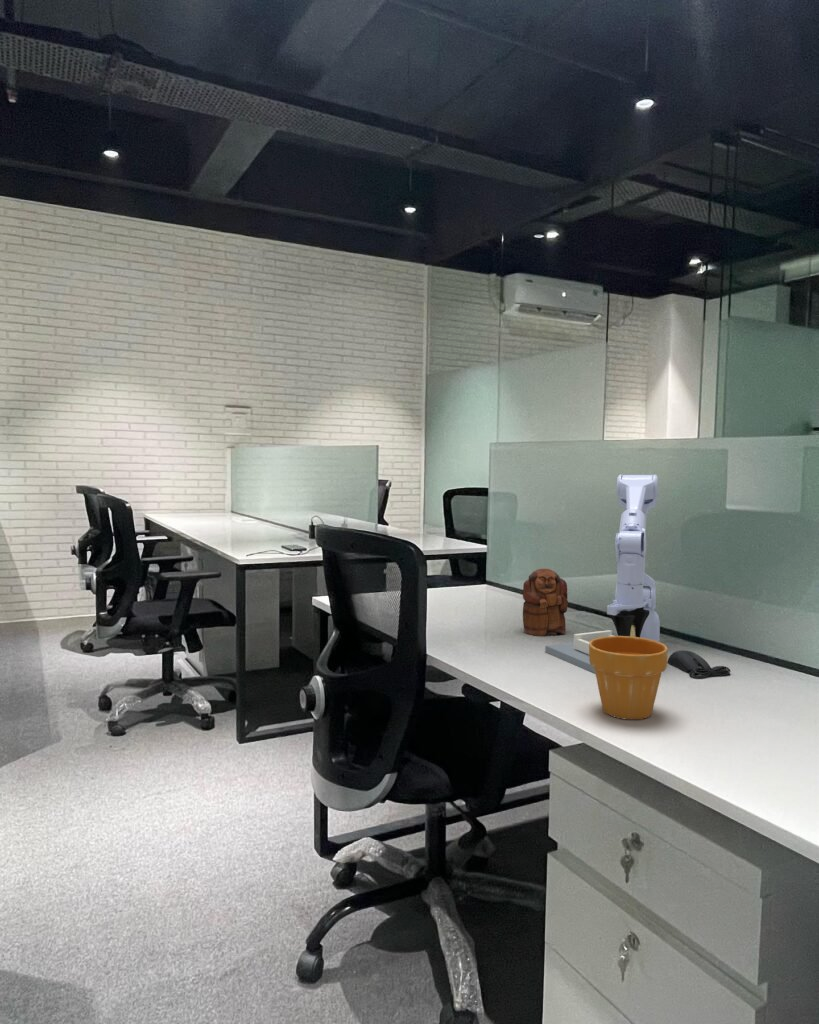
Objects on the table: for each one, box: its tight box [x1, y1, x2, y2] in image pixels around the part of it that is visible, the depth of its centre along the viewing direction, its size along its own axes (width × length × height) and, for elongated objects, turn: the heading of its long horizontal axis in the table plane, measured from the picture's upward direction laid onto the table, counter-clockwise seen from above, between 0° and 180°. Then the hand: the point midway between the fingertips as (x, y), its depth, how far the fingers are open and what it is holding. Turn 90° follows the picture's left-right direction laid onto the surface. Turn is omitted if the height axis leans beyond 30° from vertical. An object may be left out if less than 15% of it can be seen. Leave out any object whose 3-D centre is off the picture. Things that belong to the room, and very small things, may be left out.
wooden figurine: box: [522, 568, 569, 637], centre depth 197 cm, size 12×6×18 cm, turn 100°
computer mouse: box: [667, 649, 732, 680], centre depth 164 cm, size 10×15×4 cm
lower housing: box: [573, 629, 614, 654], centre depth 172 cm, size 11×10×4 cm
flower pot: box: [589, 635, 669, 720], centre depth 135 cm, size 14×14×13 cm
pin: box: [630, 623, 636, 637], centre depth 164 cm, size 3×3×6 cm
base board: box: [544, 641, 596, 675], centre depth 171 cm, size 16×24×4 cm, turn 23°
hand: (629, 641), depth 164 cm, fingers closed on pin, 3 cm apart
